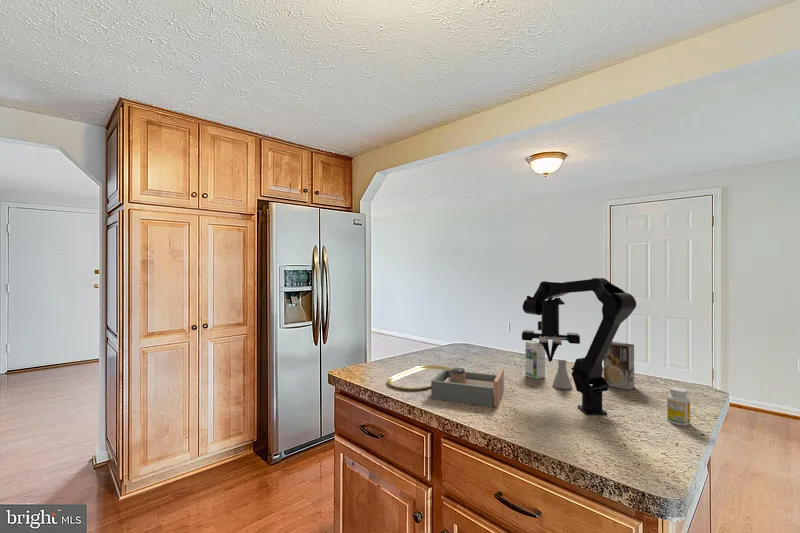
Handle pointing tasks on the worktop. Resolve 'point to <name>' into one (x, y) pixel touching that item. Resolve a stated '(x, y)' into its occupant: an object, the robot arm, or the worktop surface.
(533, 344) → the syrup box
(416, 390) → the gold oval hoop
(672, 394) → the supplement bottle
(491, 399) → the dock
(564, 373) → the flask
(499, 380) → the tray
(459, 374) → the spice jar
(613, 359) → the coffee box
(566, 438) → the worktop surface
